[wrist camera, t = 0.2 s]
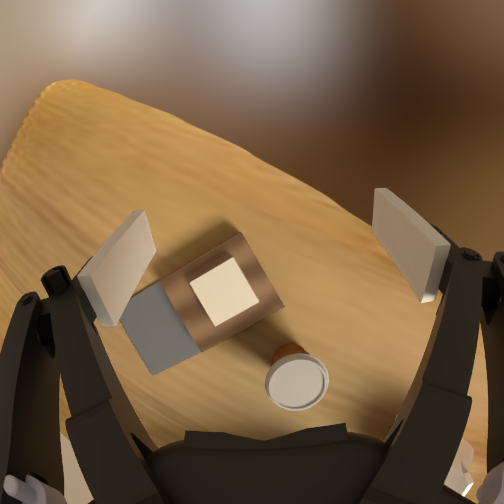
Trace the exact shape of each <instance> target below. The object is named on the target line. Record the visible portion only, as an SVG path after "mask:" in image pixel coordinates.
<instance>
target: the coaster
mask: <svg viewBox="0 0 504 504" xmlns="http://www.w3.org/2000/svg"><path fill="white" fill-rule="evenodd" d="M190 285H191V286H192V288H193V290H194V292H195V293H196V295H197V297H198V299H199V300H200V302H201V304H202V305H203V307H204V309H205V310H206V312H207V314H208V316H209V317H210V319H211V321H212V322H213V324H214V325H215V326H217V325H219V324H221V323H223V322H224V321H226V320H228V319H230V318H232V317H234V316H235V315H237V314H239V313H241V312H242V311H244V310H246V309H248V308H250V307H251V306H253V305H255V304H257V303H258V302H259V299H258V297H257V296H256V294H255V292H254V291H253V289H252V287H251V285H250V284H249V282H248V280H247V279H246V277H245V275H244V273H243V272H242V270H241V268H240V267H239V265H238V263H237V261H236V260H235V258H234V257H232V258H231V259H229V260H227V261H226V262H224V263H222V264H221V265H219V266H217V267H215V268H214V269H212V270H210V271H209V272H207V273H205V274H204V275H202V276H200V277H198V278H197V279H195V280H193V281H192V282H190Z"/></svg>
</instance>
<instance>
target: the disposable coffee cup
mask: <svg viewBox="0 0 504 504" xmlns="http://www.w3.org/2000/svg"><path fill="white" fill-rule="evenodd" d="M328 384H329V375H328V371H327V369H326V367H325V365H324V364H323V363H322V362H321V361H320V360H319V359H318V358H316V357H314V356H311V355H310V354H309V353H308V352H306V351H305V350H304V349H303V348H302V347H300V346H298V345H295V344H288V345H284V346H282V347H281V348H279V349H278V350H277V351H276V353H275V355H274V358H273V362H272V366H271V368H270V370H269V371H268V373H267V376H266V380H265V389H266V392H267V394H268V396H269V398H270V399H271V401H273V402H274V403H275V404H276V405H278V406H279V407H281V408H283V409H286V410H290V411H301V410H305V409H308V408H310V407H312V406H314V405H315V404H317V403H318V402H319V401H320V400H321V399H322V397H323V396H324V394H325V392H326V390H327V387H328Z"/></svg>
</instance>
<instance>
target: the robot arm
mask: <svg viewBox="0 0 504 504" xmlns="http://www.w3.org/2000/svg"><path fill="white" fill-rule="evenodd" d="M372 233H373V235H374V236H375V237H376V239H377V240H378V241H379V243H380V244H381V245H382V247H383V248H384V249H385V251H386V252H387V254H388V255H389V256H390V258H391V259H392V261H393V262H394V263H395V265H396V266H397V268H398V269H399V271H400V272H401V273H402V275H403V276H404V278H405V279H406V281H407V282H408V284H409V285H410V287H411V288H412V290H413V291H414V293H415V295H416V296H417V298H418V299H419V301H420V302H421V303H424V302H430V301H435V299H436V296H437V292H438V289H439V290H440V291H441V293H442V294H443V296H442V299H441V302H440V304H439V307H438V310H437V313H436V315H437V316H436V319H435V323H434V326H433V329H432V332H431V335H430V338H429V341H428V344H427V347H426V350H425V353H424V355H423V358H422V361H421V363H420V366H419V368H418V371H417V373H416V376H415V378H414V381H413V383H412V385H411V388H410V390H409V392H408V394H407V396H406V399H405V401H404V403H403V405H402V407H401V409H400V411H399V413H398V415H397V417H396V419H395V421H394V423H393V425H392V427H391V428H390V430H389V432H388V433H387V435H386V437H385V438H384V440H383V441H380V440H379V439H376V438H374V437H371V436H368V435H364V434H360V433H353V432H347V429H346V423H341V424H335V425H329V426H322V427H314V428H306V429H303V430H300V431H297V432H294V433H291V434H288V435H285V436H281V437H278V438H274V439H271V440H266V441H261V440H255V439H250V438H246V437H241V436H236V435H232V434H228V433H224V432H199V431H186V432H185V438H184V440H181V441H177V442H174V443H170V444H168V445H165V446H163V447H161V448H159V449H158V447H157V446H156V445H155V444H154V443H153V441H152V440H151V438H150V437H149V435H148V433H147V432H146V430H145V428H144V427H143V425H142V423H141V421H140V420H139V418H138V416H137V414H136V413H135V411H134V409H133V407H132V405H131V403H130V401H129V400H128V398H127V396H126V394H125V392H124V390H123V388H122V386H121V384H120V382H119V380H118V377H117V375H116V373H115V371H114V369H113V367H112V365H111V362H110V360H109V358H108V355H107V353H106V351H105V348H104V346H103V343H102V341H101V339H100V336H99V333H98V331H97V328H96V327H95V325H94V323H93V322H94V321H95V319H96V317H97V318H98V320H99V322H100V324H101V326H102V327H116V325H117V323H118V321H119V319H120V317H121V315H122V313H123V311H124V309H125V307H126V305H127V303H128V302H129V300H130V298H131V296H132V294H133V292H134V290H135V288H136V286H137V285H138V283H139V281H140V279H141V277H142V275H143V274H144V272H145V270H146V268H147V266H148V265H149V263H150V261H151V259H152V258H153V256H154V254H155V252H156V249H155V245H154V242H153V238H152V235H151V231H150V228H149V224H148V220H147V217H146V213H145V210H140V211H134V212H132V213H131V215H130V216H129V217H128V218H127V219H126V220H125V221H124V222H123V223H122V224H121V225H120V226H119V227H118V228H117V230H116V231H115V232H114V233H113V234H112V235H111V236H110V237H109V239H108V240H107V241H106V242H105V243H104V244H103V245H102V246H101V248H100V249H99V250H98V251H97V252H96V253H95V255H94V256H92V257H91V258H90V259H89V260H88V261H87V262H86V264H85V265H84V266H83V267H82V268H81V270H80V271H79V272H78V273H77V275H76V276H75V277H74V278H73V280H71V278H70V276H69V274H68V271H67V269H66V267H65V266H62V265H61V266H56V267H54V268H52V269H50V270H48V271H47V272H46V273H45V274H44V275H43V276H42V278H41V282H42V284H43V286H44V288H45V290H46V292H47V293H48V295H49V298H46V299H42V300H41V299H40V297H39V296H38V294H37V293H36V292H30V293H28V294H27V293H26V294H25V295H23V296H22V297H21V299H20V300H19V301H18V303H17V305H16V307H15V310H14V313H13V316H12V318H11V321H10V324H9V327H8V330H7V333H6V336H5V340H4V343H3V346H2V350H1V353H0V504H67V502H66V500H65V498H64V474H63V465H62V455H61V442H60V425H59V381H60V374H61V379H62V383H63V387H64V391H65V395H66V399H67V402H68V406H69V409H70V413H71V417H70V418H68V419H66V422H65V424H66V429H67V432H68V436H69V439H70V442H71V445H72V448H73V450H74V453H75V456H76V459H77V461H78V464H79V466H80V469H81V471H82V474H83V476H84V479H85V481H86V483H87V485H88V487H89V490H90V492H91V494H92V496H93V498H94V500H92V501H91V502H90V503H88V504H476V503H474V502H472V501H470V500H469V499H467V498H465V497H464V496H462V495H461V494H459V493H457V492H456V491H454V490H453V489H451V488H449V487H448V486H446V485H445V484H444V482H445V480H446V478H447V475H448V473H449V471H450V468H451V466H452V464H453V461H454V459H455V456H456V453H457V451H458V448H459V445H460V442H461V439H462V436H463V433H464V430H465V427H466V424H467V420H468V417H469V413H470V409H471V404H472V398H471V397H470V396H467V393H468V388H469V384H470V379H471V375H472V370H473V365H474V359H475V353H476V347H477V340H478V333H479V324H481V329H482V336H483V343H484V350H485V359H486V369H487V382H488V440H487V476H486V477H485V479H484V482H483V485H481V486H480V487H479V489H478V491H477V494H476V495H477V499H478V500H479V503H478V504H504V252H496V253H495V255H494V258H493V261H492V262H491V261H483V260H482V257H481V256H480V254H479V253H477V252H476V251H474V250H472V249H469V248H465V247H464V248H459V247H458V246H457V245H456V244H455V243H454V242H452V240H451V239H450V238H447V236H446V235H445V234H444V233H443V232H442V231H441V230H440V229H439V228H438V227H436V226H434V225H432V224H430V223H427V222H426V221H425V220H424V219H423V218H422V217H421V216H420V215H418V214H417V213H416V212H415V211H414V210H413V209H412V208H410V207H409V206H408V205H407V204H406V203H404V202H403V201H402V200H400V199H399V198H398V197H397V196H396V195H395V194H393V193H392V192H391V191H390V190H388V189H387V188H375V196H374V211H373V223H372Z"/></svg>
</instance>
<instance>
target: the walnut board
mask: <svg viewBox="0 0 504 504" xmlns="http://www.w3.org/2000/svg"><path fill="white" fill-rule="evenodd" d="M232 257H234V258H235V260H236V261H237V263H238V265H239V267H240V268H241V270H242V272H243V273H244V275H245V277H246V279H247V280H248V282H249V284H250V285H251V287H252V289H253V291H254V292H255V294H256V296H257V297H258V299H259V302H258V303H257V304H255V305H253V306H251V307H250V308H248V309H246V310H244V311H242V312H241V313H239V314H237V315H235V316H234V317H232V318H230V319H228V320H226V321H224V322H223V323H221V324H219V325H217V326H215V325H214V324H213V322H212V321H211V319H210V317H209V316H208V314H207V312H206V310H205V309H204V307H203V305H202V304H201V302H200V300H199V299H198V297H197V295H196V293H195V292H194V290H193V288H192V286H191V285H190V282H192V281H193V280H195V279H197V278H198V277H200V276H202V275H204V274H205V273H207V272H209V271H210V270H212V269H214V268H215V267H217V266H219V265H221V264H222V263H224V262H226V261H227V260H229V259H231V258H232ZM160 283H161V284H162V286H163V288H164V290H165V292H166V294H167V295H168V297H169V299H170V301H171V302H172V304H173V306H174V308H175V309H176V311H177V313H178V315H179V316H180V318H181V320H182V321H183V323H184V325H185V327H186V328H187V330H188V331H189V333H190V335H191V336H192V338H193V340H194V341H195V343H196V345H197V346H198V348H199V349H200V351H201V352H203V351H205V350H207V349H209V348H211V347H213V346H215V345H217V344H218V343H220V342H222V341H224V340H226V339H228V338H230V337H232V336H233V335H235V334H237V333H239V332H241V331H243V330H244V329H246V328H248V327H250V326H252V325H254V324H255V323H257V322H259V321H261V320H262V319H264V318H266V317H268V316H270V315H271V314H273V313H275V312H276V311H278V310H280V309H282V308H283V307H285V306H284V305H283V303H282V301H281V300H280V298H279V296H278V294H277V293H276V291H275V289H274V288H273V286H272V284H271V282H270V281H269V279H268V277H267V276H266V274H265V272H264V270H263V269H262V267H261V265H260V264H259V262H258V260H257V258H256V257H255V255H254V253H253V252H252V250H251V248H250V246H249V245H248V243H247V241H246V240H245V238H244V236H243V235H242V233H241V232H240V233H238V234H237V235H235V236H233V237H232V238H230V239H228V240H227V241H225V242H223V243H221V244H220V245H218V246H216V247H215V248H213V249H211V250H210V251H208V252H206V253H205V254H203V255H201V256H200V257H198V258H196V259H195V260H193V261H191V262H190V263H188V264H186V265H185V266H183V267H181V268H180V269H178V270H176V271H175V272H173V273H171V274H170V275H168V276H167V277H165V278H163V279H162V280H160Z"/></svg>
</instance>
